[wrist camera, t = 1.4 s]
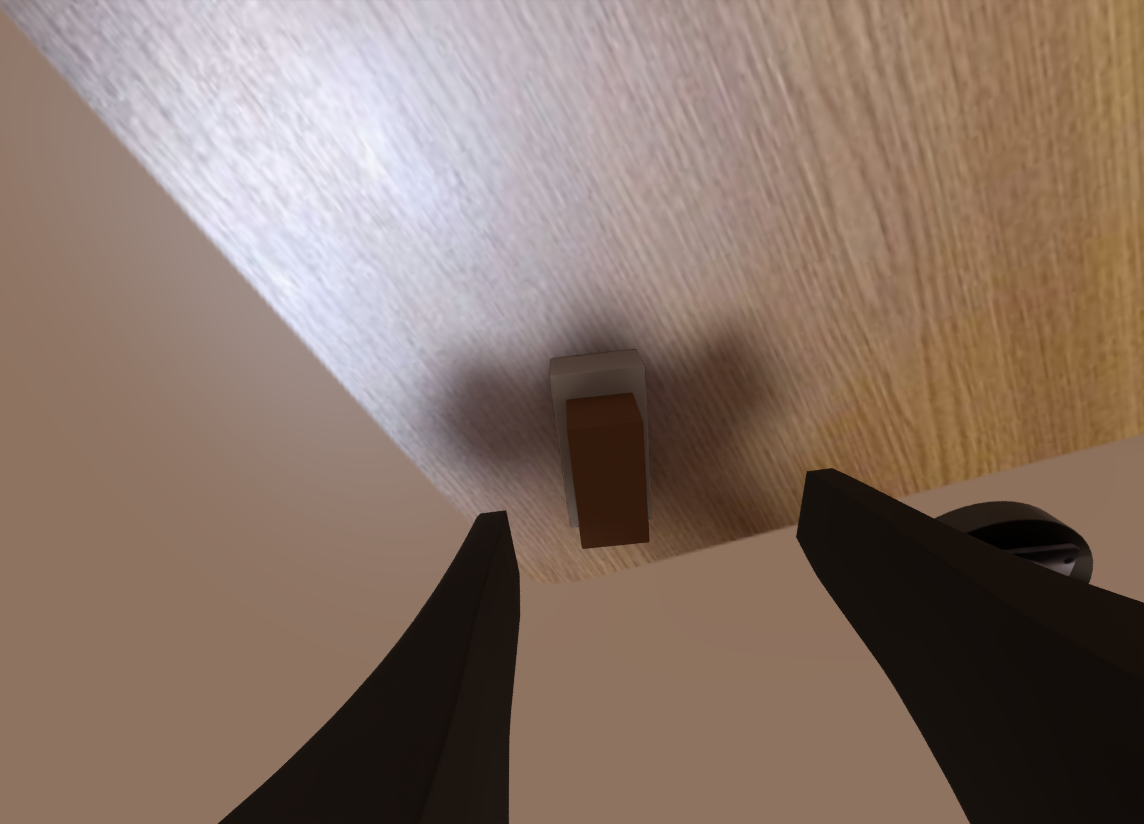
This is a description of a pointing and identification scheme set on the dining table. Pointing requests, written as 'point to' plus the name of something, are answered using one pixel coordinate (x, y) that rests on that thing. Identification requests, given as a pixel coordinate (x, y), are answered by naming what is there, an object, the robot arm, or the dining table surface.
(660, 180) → the dining table surface
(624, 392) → the eraser
